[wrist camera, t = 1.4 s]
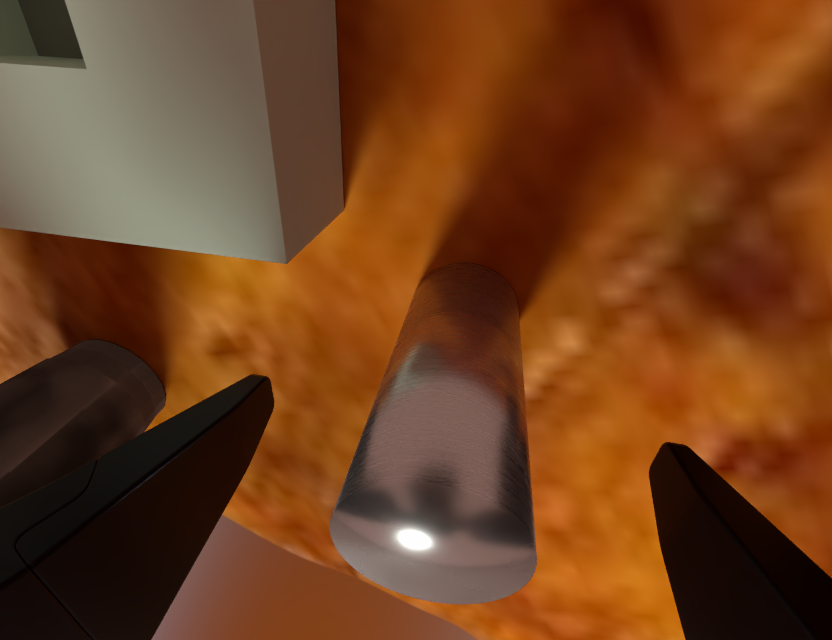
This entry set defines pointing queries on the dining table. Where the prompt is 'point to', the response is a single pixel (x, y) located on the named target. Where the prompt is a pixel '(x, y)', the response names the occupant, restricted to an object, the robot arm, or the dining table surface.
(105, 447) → the beverage cup
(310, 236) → the socket block
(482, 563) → the peg
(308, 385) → the dining table surface
